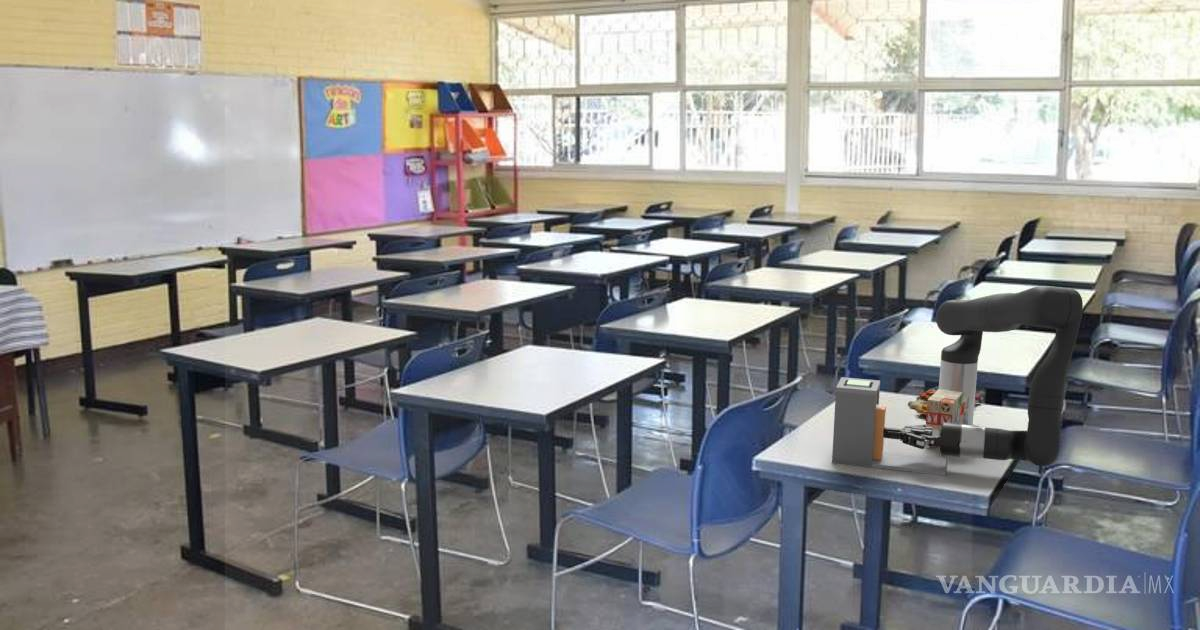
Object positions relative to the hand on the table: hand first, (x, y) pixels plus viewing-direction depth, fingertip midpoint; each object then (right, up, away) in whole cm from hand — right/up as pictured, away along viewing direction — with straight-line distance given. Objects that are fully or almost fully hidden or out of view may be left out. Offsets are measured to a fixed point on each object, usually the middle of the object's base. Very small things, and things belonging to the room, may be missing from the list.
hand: (883, 432), depth 240 cm
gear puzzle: (+30, +1, +52) cm, 60 cm away
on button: (-6, +7, +1) cm, 9 cm away
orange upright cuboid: (-4, -7, +2) cm, 8 cm away
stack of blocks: (+22, -4, +21) cm, 31 cm away
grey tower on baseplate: (+1, -7, +1) cm, 7 cm away
